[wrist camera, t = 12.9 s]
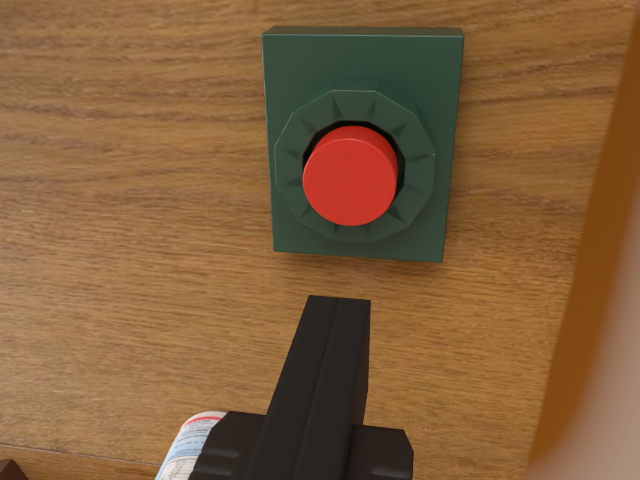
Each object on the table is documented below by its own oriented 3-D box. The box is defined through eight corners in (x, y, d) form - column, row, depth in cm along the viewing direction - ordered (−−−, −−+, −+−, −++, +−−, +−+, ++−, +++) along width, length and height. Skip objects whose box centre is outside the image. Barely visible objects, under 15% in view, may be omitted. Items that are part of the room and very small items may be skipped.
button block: (441, 241, 29) (443, 284, 25) (283, 231, 30) (263, 270, 26) (461, 27, 24) (467, 43, 20) (273, 25, 25) (248, 40, 22)
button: (395, 210, 24) (393, 229, 23) (311, 205, 25) (303, 223, 23) (400, 126, 23) (398, 140, 21) (309, 123, 23) (300, 136, 22)
